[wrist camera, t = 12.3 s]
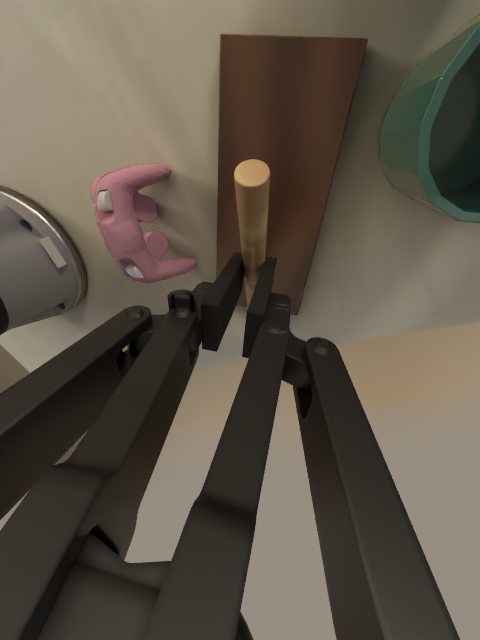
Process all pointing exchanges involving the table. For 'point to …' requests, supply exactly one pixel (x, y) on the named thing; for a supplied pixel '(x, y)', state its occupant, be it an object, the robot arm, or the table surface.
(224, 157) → the board
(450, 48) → the coffee cup
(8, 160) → the table surface
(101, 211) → the video game controller
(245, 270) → the stirrer
